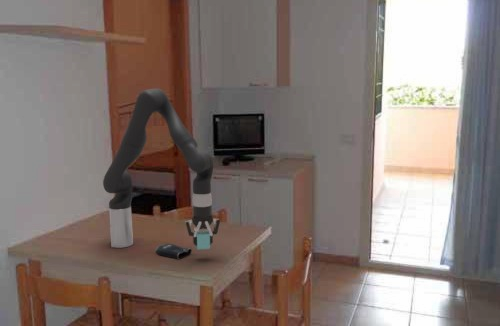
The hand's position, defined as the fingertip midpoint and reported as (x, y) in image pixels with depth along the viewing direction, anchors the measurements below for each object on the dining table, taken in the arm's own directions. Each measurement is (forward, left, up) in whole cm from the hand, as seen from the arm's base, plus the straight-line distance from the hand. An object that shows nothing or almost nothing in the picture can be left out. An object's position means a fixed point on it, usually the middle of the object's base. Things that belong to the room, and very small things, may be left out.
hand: (203, 244), depth 199 cm
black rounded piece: (-12, +11, -7) cm, 17 cm away
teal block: (0, 0, -1) cm, 1 cm away
